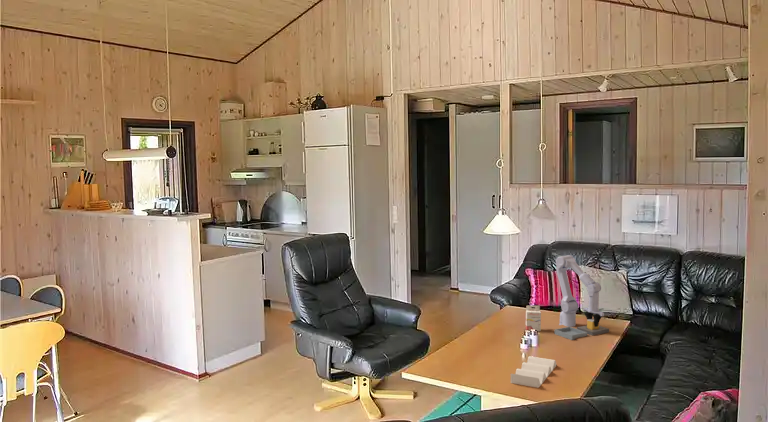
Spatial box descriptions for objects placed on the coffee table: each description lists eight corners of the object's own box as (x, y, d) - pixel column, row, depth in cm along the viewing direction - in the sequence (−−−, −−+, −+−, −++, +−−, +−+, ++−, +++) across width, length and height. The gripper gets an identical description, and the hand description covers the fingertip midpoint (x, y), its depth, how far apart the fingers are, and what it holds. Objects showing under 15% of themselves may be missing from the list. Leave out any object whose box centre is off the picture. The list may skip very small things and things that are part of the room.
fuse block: (576, 331, 363) (576, 327, 363) (593, 328, 369) (593, 324, 369) (592, 336, 352) (592, 332, 352) (609, 333, 359) (609, 328, 358)
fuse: (586, 331, 361) (587, 319, 361) (593, 329, 364) (593, 318, 363) (592, 332, 358) (592, 321, 357) (599, 331, 360) (599, 319, 360)
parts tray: (554, 334, 358) (554, 329, 358) (569, 331, 364) (569, 326, 364) (572, 340, 346) (572, 335, 346) (587, 337, 352) (587, 332, 351)
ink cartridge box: (526, 331, 366) (526, 307, 364) (525, 328, 370) (525, 305, 369) (540, 331, 365) (541, 307, 363) (539, 329, 370) (539, 305, 368)
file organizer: (556, 366, 305) (557, 356, 304) (538, 389, 274) (538, 378, 274) (531, 362, 311) (531, 352, 311) (510, 384, 281) (510, 373, 280)
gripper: (579, 301, 364) (579, 323, 365) (598, 306, 351) (597, 329, 352) (587, 300, 367) (587, 321, 368) (606, 304, 354) (606, 327, 355)
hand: (593, 325), depth 360 cm, fingers open, 4 cm apart
